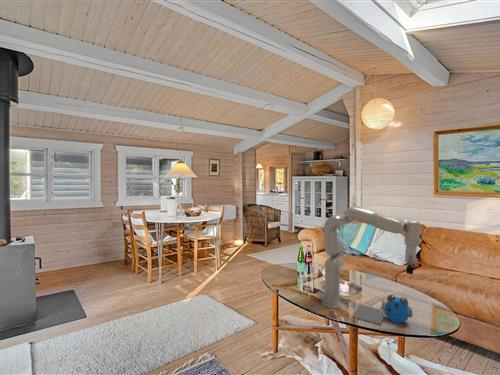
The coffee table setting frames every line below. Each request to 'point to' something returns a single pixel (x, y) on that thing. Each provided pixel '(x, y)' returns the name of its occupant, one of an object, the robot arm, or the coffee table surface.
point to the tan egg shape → (384, 303)
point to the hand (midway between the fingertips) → (410, 271)
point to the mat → (369, 314)
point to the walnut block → (410, 312)
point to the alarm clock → (397, 309)
